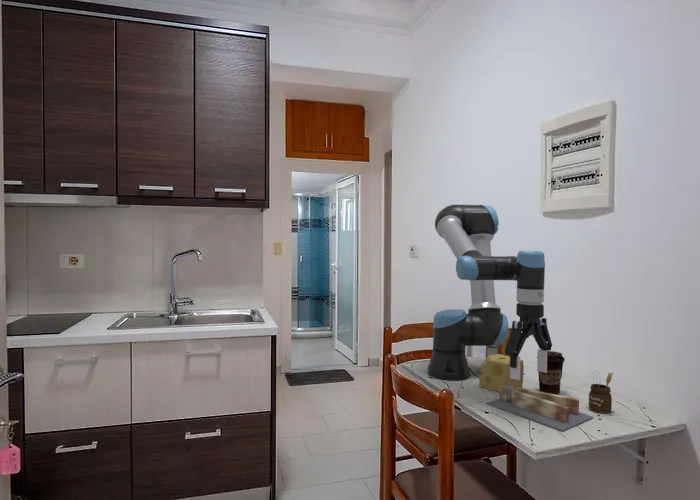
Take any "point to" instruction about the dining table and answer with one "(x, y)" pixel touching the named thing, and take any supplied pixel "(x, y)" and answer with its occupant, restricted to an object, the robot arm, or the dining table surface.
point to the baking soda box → (499, 346)
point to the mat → (541, 416)
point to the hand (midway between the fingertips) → (528, 375)
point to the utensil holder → (600, 396)
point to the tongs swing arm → (555, 399)
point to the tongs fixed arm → (534, 403)
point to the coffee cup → (552, 373)
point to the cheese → (499, 373)
